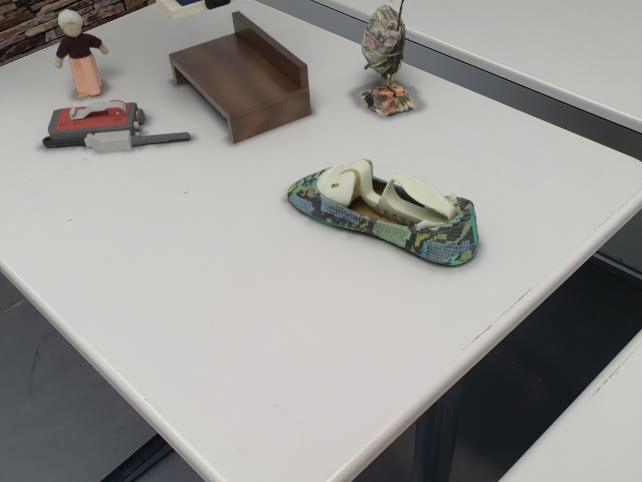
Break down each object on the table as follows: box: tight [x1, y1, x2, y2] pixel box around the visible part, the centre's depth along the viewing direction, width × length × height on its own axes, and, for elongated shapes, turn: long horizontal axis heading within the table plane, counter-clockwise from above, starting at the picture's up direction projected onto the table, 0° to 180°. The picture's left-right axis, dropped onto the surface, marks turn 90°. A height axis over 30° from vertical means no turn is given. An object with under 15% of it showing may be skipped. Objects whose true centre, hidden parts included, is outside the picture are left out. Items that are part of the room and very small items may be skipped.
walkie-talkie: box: [41, 99, 191, 152], centre depth 94 cm, size 9×4×20 cm
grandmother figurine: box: [54, 8, 110, 99], centre depth 99 cm, size 8×4×13 cm, turn 129°
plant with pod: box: [360, 0, 414, 118], centre depth 91 cm, size 8×11×20 cm
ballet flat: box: [286, 157, 480, 266], centre depth 78 cm, size 9×24×8 cm, turn 60°
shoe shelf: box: [167, 10, 312, 145], centre depth 97 cm, size 12×20×8 cm, turn 32°
